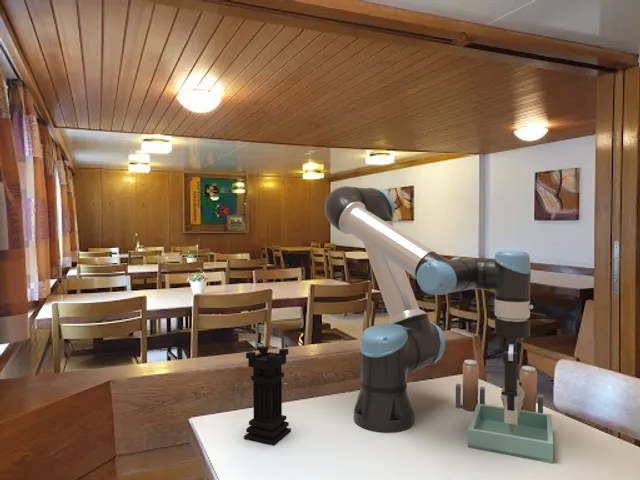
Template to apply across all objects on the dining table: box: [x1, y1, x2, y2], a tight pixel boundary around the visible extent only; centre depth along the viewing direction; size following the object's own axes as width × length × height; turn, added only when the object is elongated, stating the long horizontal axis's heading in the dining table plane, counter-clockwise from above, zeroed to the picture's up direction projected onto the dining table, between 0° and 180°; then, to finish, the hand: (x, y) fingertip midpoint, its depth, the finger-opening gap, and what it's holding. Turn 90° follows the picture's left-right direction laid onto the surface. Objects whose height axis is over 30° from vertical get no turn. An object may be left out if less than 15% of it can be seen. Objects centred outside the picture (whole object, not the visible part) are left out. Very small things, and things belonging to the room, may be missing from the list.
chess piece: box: [243, 345, 292, 447], centre depth 111 cm, size 8×8×20 cm
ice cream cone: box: [500, 379, 524, 433], centre depth 109 cm, size 5×5×15 cm
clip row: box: [455, 382, 544, 413], centre depth 124 cm, size 21×2×6 cm, turn 65°
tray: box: [467, 402, 554, 464], centre depth 109 cm, size 17×17×4 cm
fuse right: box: [519, 365, 538, 412], centre depth 121 cm, size 4×4×13 cm
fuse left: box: [462, 359, 479, 412], centre depth 127 cm, size 4×4×13 cm
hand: (511, 418), depth 109 cm, fingers closed on ice cream cone, 5 cm apart
